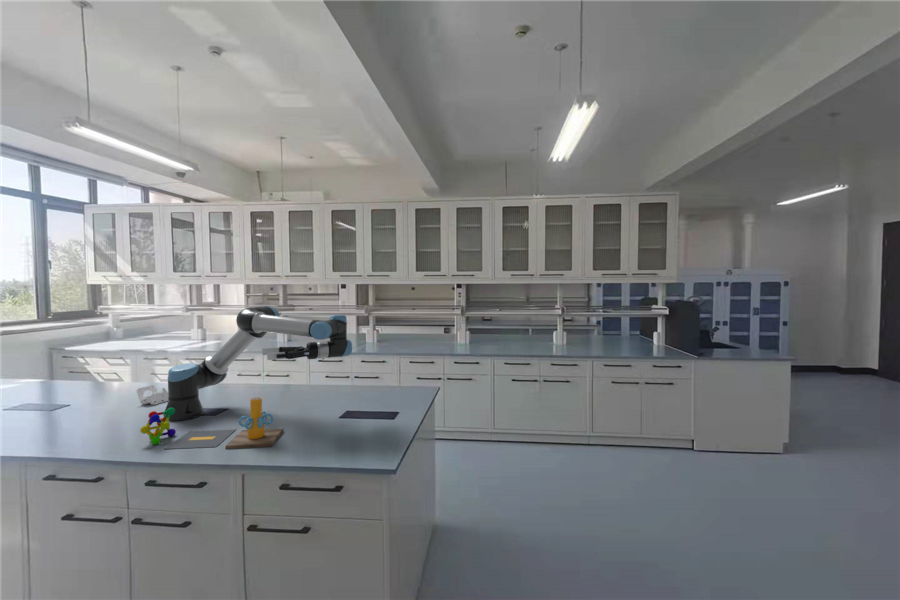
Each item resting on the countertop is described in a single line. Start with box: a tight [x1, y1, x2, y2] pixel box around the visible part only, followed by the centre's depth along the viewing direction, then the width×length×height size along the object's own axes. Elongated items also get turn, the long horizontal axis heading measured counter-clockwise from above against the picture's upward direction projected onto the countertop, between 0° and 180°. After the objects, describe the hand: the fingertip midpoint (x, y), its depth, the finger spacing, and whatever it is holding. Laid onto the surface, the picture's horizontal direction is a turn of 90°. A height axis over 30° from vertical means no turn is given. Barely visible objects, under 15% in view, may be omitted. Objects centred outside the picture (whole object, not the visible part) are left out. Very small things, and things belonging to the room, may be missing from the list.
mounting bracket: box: [135, 385, 168, 406], centre depth 202 cm, size 12×6×11 cm, turn 166°
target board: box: [225, 428, 284, 450], centre depth 153 cm, size 16×16×1 cm
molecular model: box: [140, 408, 177, 445], centre depth 152 cm, size 12×7×12 cm, turn 0°
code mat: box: [163, 429, 236, 450], centre depth 153 cm, size 18×18×1 cm
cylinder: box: [238, 396, 274, 439], centre depth 153 cm, size 12×10×15 cm
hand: (264, 354), depth 163 cm, fingers open, 13 cm apart
